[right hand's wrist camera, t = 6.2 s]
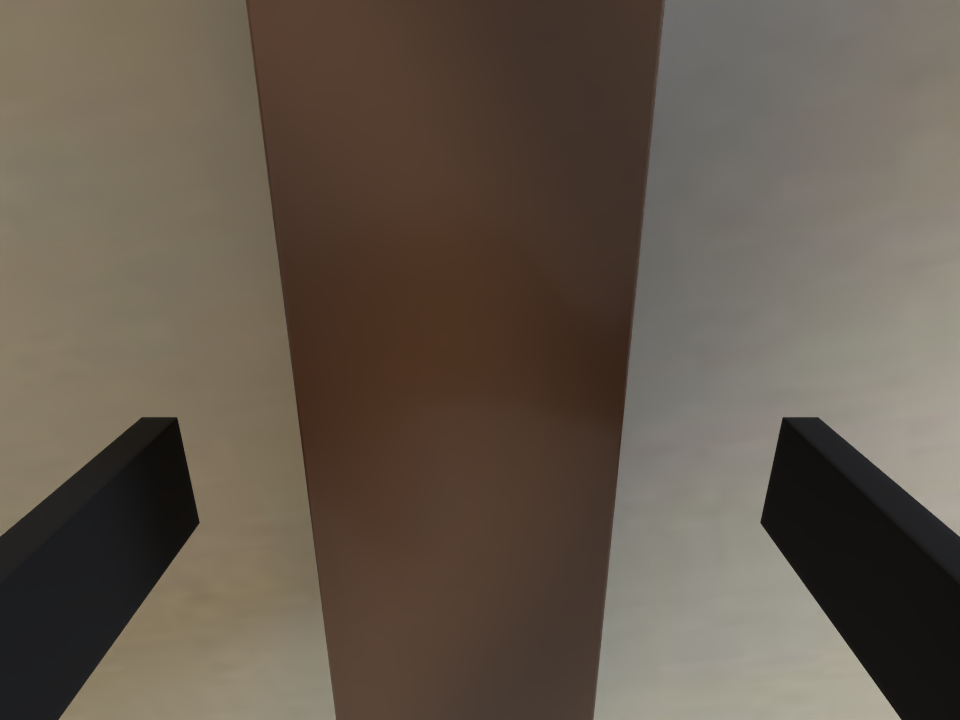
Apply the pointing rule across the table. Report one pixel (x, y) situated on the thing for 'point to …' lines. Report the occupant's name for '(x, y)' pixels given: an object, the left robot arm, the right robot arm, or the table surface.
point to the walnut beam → (459, 331)
